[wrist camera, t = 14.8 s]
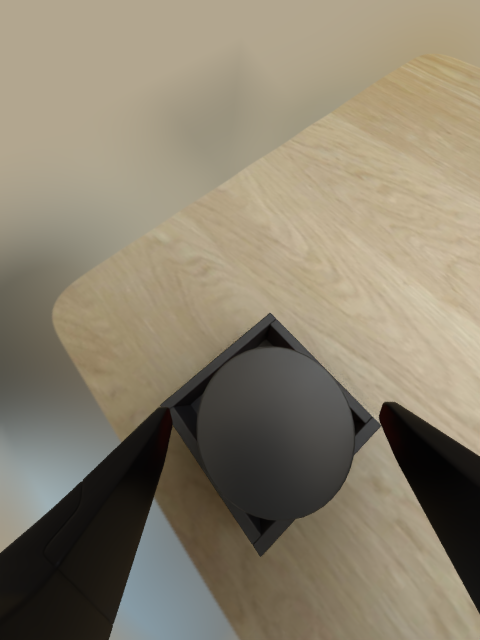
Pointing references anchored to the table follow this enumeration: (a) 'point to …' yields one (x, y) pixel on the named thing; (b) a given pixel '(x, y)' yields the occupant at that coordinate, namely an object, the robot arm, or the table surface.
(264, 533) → the bin
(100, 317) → the table surface
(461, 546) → the robot arm
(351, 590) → the table surface
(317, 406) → the takeaway cup
